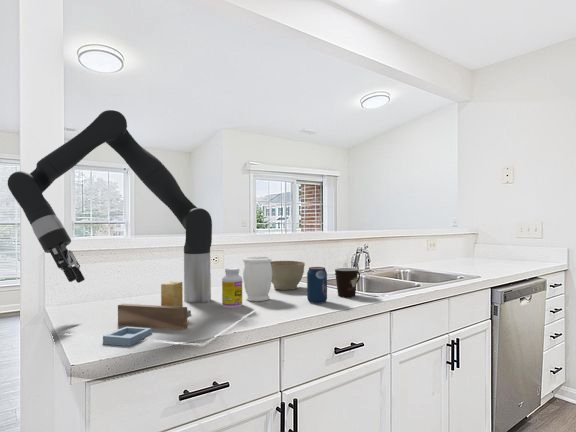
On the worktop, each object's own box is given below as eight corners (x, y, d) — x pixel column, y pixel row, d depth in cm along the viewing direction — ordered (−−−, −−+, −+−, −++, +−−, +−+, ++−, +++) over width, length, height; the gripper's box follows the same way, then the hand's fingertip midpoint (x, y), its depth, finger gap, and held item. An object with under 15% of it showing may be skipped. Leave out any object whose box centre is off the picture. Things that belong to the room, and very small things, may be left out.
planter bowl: (284, 293, 156) (284, 265, 156) (258, 288, 168) (258, 262, 168) (313, 288, 166) (312, 262, 166) (287, 283, 178) (286, 259, 178)
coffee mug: (340, 298, 144) (340, 271, 144) (331, 294, 153) (331, 268, 153) (369, 296, 148) (369, 269, 148) (359, 292, 156) (358, 267, 156)
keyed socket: (126, 333, 103) (126, 326, 103) (151, 335, 101) (151, 328, 101) (102, 343, 94) (102, 335, 94) (130, 345, 92) (130, 338, 92)
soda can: (328, 304, 136) (327, 268, 136) (307, 304, 136) (307, 269, 136) (326, 300, 143) (325, 266, 143) (306, 300, 143) (306, 266, 143)
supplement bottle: (235, 310, 128) (235, 270, 128) (218, 308, 131) (218, 269, 131) (246, 305, 134) (245, 267, 134) (229, 304, 137) (229, 266, 137)
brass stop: (170, 314, 120) (170, 281, 120) (182, 315, 119) (182, 282, 119) (161, 318, 115) (161, 284, 115) (173, 319, 114) (173, 284, 114)
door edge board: (122, 325, 111) (122, 303, 111) (187, 329, 106) (187, 307, 106) (117, 327, 109) (117, 305, 109) (183, 331, 104) (183, 308, 104)
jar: (238, 301, 142) (238, 259, 142) (250, 295, 151) (249, 256, 152) (265, 303, 138) (265, 259, 138) (276, 297, 148) (276, 257, 148)
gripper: (56, 223, 112) (84, 273, 112) (70, 230, 126) (95, 275, 125) (29, 236, 110) (57, 287, 109) (46, 242, 124) (71, 288, 123)
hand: (77, 280), depth 117 cm, fingers open, 8 cm apart
